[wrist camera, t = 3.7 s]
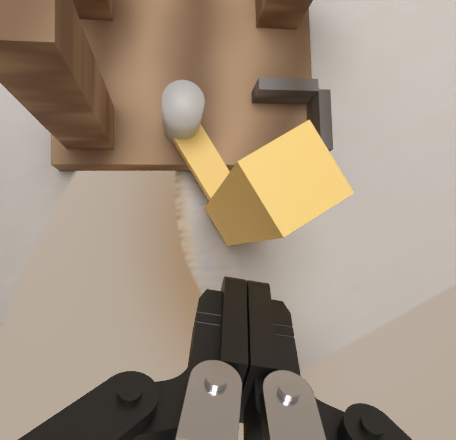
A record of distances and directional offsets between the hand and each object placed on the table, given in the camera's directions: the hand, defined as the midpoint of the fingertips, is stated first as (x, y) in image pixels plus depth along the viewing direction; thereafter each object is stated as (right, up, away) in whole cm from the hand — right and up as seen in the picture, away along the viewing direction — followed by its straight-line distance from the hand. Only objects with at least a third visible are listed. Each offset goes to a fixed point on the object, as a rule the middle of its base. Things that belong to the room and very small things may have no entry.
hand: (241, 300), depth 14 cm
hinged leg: (-2, +6, +14) cm, 15 cm away
